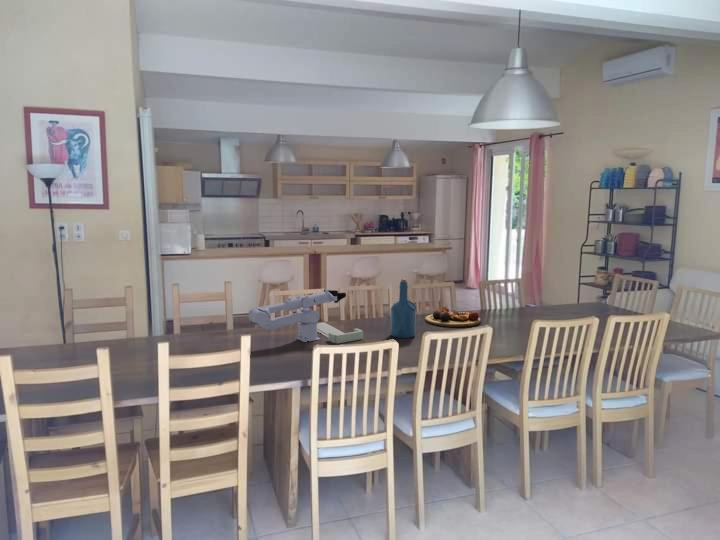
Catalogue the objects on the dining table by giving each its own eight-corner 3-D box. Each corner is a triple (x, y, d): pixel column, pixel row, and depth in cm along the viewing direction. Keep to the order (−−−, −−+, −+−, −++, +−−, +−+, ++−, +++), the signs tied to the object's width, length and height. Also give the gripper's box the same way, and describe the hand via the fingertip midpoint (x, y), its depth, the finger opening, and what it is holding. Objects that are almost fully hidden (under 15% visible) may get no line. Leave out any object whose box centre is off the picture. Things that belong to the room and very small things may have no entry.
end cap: (335, 343, 265) (335, 335, 265) (328, 340, 271) (328, 332, 271) (364, 338, 275) (364, 331, 275) (356, 335, 281) (356, 328, 280)
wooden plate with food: (490, 321, 316) (490, 307, 315) (462, 330, 292) (462, 315, 291) (444, 314, 337) (444, 301, 336) (414, 322, 313) (414, 308, 312)
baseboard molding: (326, 340, 274) (347, 337, 279) (326, 334, 274) (347, 332, 279) (304, 327, 301) (324, 324, 307) (304, 321, 301) (324, 319, 306)
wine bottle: (386, 337, 278) (386, 280, 274) (395, 331, 290) (396, 276, 286) (411, 340, 272) (412, 282, 268) (419, 334, 284) (420, 278, 280)
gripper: (325, 293, 267) (348, 288, 275) (311, 288, 279) (333, 284, 287) (327, 306, 269) (349, 301, 276) (312, 302, 280) (334, 297, 288)
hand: (341, 293), depth 281 cm, fingers open, 7 cm apart
